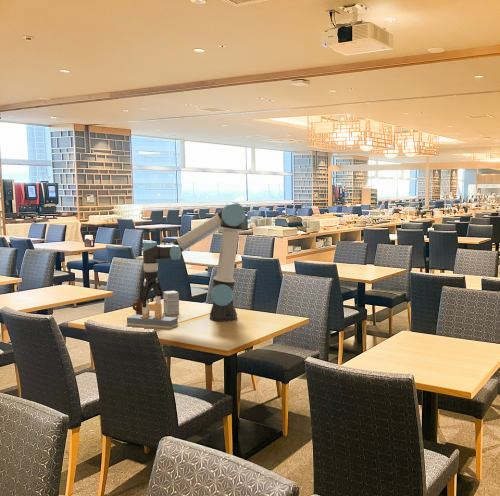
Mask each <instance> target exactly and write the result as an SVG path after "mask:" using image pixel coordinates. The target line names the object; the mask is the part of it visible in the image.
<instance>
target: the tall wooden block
mask: <svg viewBox="0 0 500 496" xmlns="http://www.w3.org/2000/svg"><path fill="white" fill-rule="evenodd" d="M162 308H163V307H162V303H161V304H159V303H156V302H149V303H148V314H146V313H143V307H142V318H149V316H150V312H154V316H155V319H162V317H163V315H162Z"/></svg>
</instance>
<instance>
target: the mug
mask: <svg viewBox="0 0 500 496" xmlns="http://www.w3.org/2000/svg"><path fill="white" fill-rule="evenodd" d="M149 299H150V298H147V301H148V303H150V300H149ZM131 307H132V309H133V311H135V315H142V301H140V298H137V299H135V301H133V303H132V306H131Z"/></svg>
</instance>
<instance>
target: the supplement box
mask: <svg viewBox="0 0 500 496" xmlns="http://www.w3.org/2000/svg"><path fill="white" fill-rule="evenodd" d="M179 296H180V293H179V292H178V291H176V290H166V291H163V295H162V297H163V314H166V315H167V316H171V315H179V314H180V297H179Z"/></svg>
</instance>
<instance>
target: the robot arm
mask: <svg viewBox="0 0 500 496" xmlns="http://www.w3.org/2000/svg"><path fill="white" fill-rule="evenodd" d="M245 211H246V210H245V208H244V207H243V206H242V205H241V204H240V203H238V202H235V201H233V202H229V203H227V204H225V205H224V207H223V208H221V209H220V210H219V211H218V212H216V214H215V215H214V216H212V217H211V218H210V219H207V220H206V221H204V222H203V223H201V224H199V225H198V226H196V227H194V228H193V229H190V231H188V232H186V233H185V234H183V235H181V236H180V237H177V239H175V240H172V241H171V242H169V243H168V244H166V245H165V244H164V245H161V244H158V241H153V240H151V241H144V242H143V243H142V257H143V258H142V260H143V261H142V262H143V263H142V266H143V279H145V281H142V282H141V283H142V284H141V285H142V287H141V291H140V295H139V299H140V301H142V307H143V313H146V314H148V301H147V299H149V295H150V293H151V290H152V291H153V292H154V294H155V303H159V304H161V305H162V301H161V297H163V292H164V291H163V288H162V285H161V282H160V281H161V280H160V278H159V271H158V270H159V262H158V261H159V260H172V261H173V260H174V261H175V260H179V259H181V256H182V253H183V252H185V251H186V250H187V249H189V248H191V247H193V246H194V245H196V244H198V243H199V242H201V241H203V240H204V239H206V238H207V237H209V236H211V235H213V234H214V233H216V232H218V231H219V230H222V233H221V234H222V235H221V242H220V249H219V256H218V263H217V269H216V275H215V276H214V277H213V278H212V281H211V284H212V286H211V291H210V299H211V300H212V306H211V308H210V309H211V310H210V313H209V320H211V321H215V322H230V321H234V320H236V319H238V312H237V311H236V307H235V304H234V299H235V297H234V295H235V293H234V292H235V285H236V280H235V279H234V271H235V266H236V265H235V264H236V258H237V257H236V256H237V251H238V250H237V249H238V241H239V235H240V232H242V231H243V228H244V222H245V217H246V212H245Z"/></svg>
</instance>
